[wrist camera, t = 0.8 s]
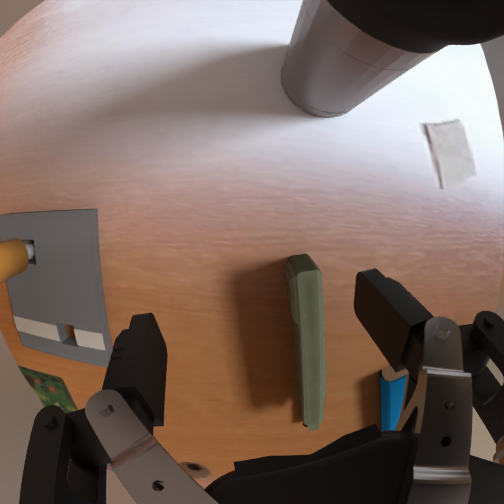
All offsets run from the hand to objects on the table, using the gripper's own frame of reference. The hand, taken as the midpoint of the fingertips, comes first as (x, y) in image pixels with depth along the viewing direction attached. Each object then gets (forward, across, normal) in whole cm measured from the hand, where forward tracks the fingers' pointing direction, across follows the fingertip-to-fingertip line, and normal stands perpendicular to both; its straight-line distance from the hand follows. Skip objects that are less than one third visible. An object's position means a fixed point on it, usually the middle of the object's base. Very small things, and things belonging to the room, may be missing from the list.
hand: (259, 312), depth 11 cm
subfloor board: (+22, +25, +8) cm, 34 cm away
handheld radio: (+15, -6, +20) cm, 26 cm away
